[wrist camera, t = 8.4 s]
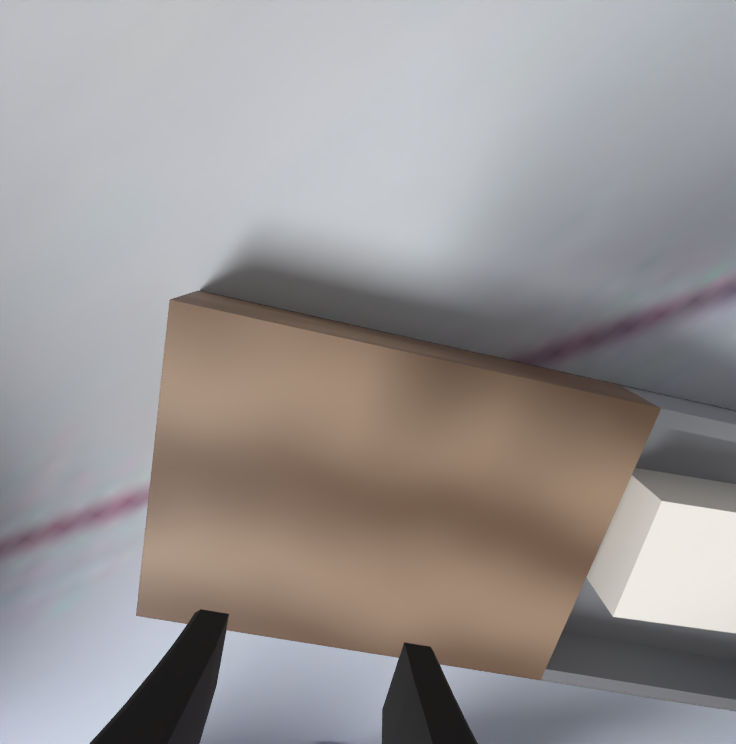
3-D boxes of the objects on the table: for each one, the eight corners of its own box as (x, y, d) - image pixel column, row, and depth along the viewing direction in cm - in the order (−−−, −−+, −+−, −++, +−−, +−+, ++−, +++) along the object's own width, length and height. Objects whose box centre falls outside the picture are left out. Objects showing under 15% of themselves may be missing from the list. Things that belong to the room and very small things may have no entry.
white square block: (689, 584, 19) (736, 633, 17) (580, 569, 19) (612, 616, 17) (736, 484, 18) (795, 521, 16) (620, 465, 18) (662, 501, 15)
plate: (518, 628, 20) (540, 680, 18) (164, 568, 19) (136, 615, 17) (618, 384, 17) (661, 408, 15) (198, 290, 16) (170, 299, 13)
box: (773, 671, 21) (826, 725, 19) (518, 628, 20) (540, 680, 18) (912, 450, 18) (997, 482, 16) (618, 384, 17) (661, 408, 15)
